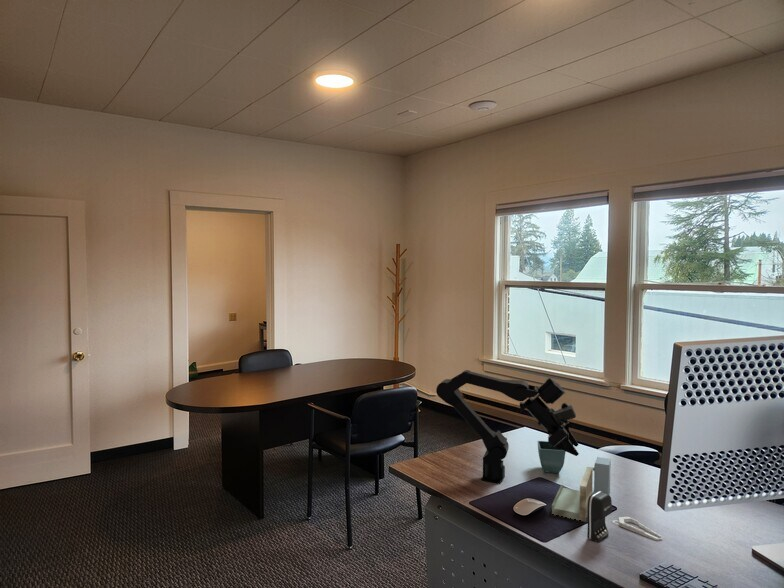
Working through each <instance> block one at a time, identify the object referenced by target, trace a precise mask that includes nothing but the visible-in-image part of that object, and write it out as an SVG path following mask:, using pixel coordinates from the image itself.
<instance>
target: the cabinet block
mask: <svg viewBox="0 0 784 588" xmlns="http://www.w3.org/2000/svg"><path fill="white" fill-rule="evenodd" d="M611 468H612V467H611V458H606V457H600V456H597V457H596V459H595V462H594V465H593V474H594V475H593V478H594V479H593V484H594V485H593V492H594V493H595V492H597V491H601V492H603V493H606V494H608V495H611V494H610V493H611Z"/></svg>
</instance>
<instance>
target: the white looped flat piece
mask: <svg viewBox="0 0 784 588" xmlns="http://www.w3.org/2000/svg"><path fill="white" fill-rule="evenodd" d="M629 523H632V524H636V525H638V528H637V527H635V526H633V525H631V524H629ZM612 524H614V525H616V526H617V525H618V526H619V527H622V528H623V529H627V530H629V531H630V532H634V533H637V534H639V535H642V536H644V537H647V538H649V539H651V540H654V541H656V542H657V541H662V539H663V538H662V535H661V534H659V533H658V532H655V531H653V530H652V529H651V528H649V527H646V524H645V525H644V524H642V523H640V522H639V520H637V519H635V518H632V517H630V516H620V517H618V520H616V519H615V520H614V519H613V520H612ZM640 528H642V529H644V530H642V529H640ZM655 535H656V536H655Z"/></svg>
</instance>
